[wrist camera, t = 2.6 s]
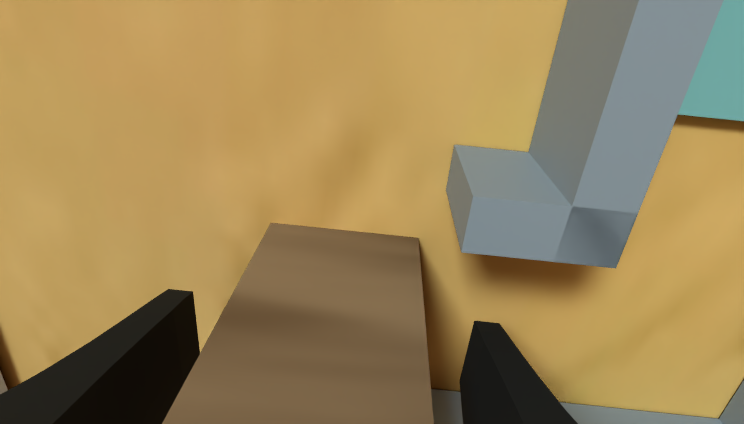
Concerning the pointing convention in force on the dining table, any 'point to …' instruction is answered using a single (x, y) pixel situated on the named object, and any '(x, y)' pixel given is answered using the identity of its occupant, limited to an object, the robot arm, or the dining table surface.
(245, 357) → the block
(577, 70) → the grey open rectangular frame
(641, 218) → the dining table surface
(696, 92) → the pad
